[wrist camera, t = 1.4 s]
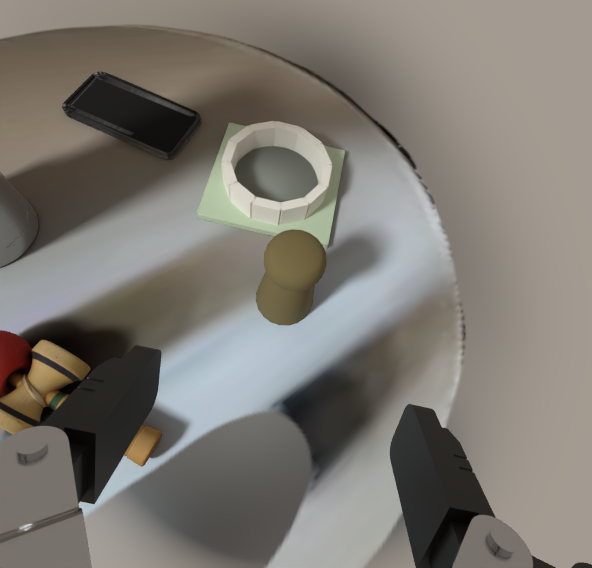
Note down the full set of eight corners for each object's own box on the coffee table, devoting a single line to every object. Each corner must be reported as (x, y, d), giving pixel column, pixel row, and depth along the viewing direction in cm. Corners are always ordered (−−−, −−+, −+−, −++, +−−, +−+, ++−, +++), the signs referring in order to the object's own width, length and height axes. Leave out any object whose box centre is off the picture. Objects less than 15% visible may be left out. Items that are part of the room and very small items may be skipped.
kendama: (183, 398, 36) (9, 310, 34) (173, 410, 29) (-40, 303, 28) (140, 477, 34) (-46, 387, 33) (119, 506, 28) (-111, 397, 26)
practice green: (197, 218, 41) (192, 198, 38) (229, 127, 47) (228, 102, 43) (326, 248, 42) (334, 231, 39) (343, 154, 48) (351, 132, 44)
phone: (97, 69, 47) (203, 114, 46) (100, 77, 48) (204, 121, 47) (57, 108, 44) (170, 158, 43) (61, 116, 45) (172, 164, 44)
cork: (285, 261, 41) (298, 204, 31) (323, 299, 40) (350, 253, 30) (243, 295, 39) (243, 246, 29) (283, 337, 38) (297, 301, 27)
